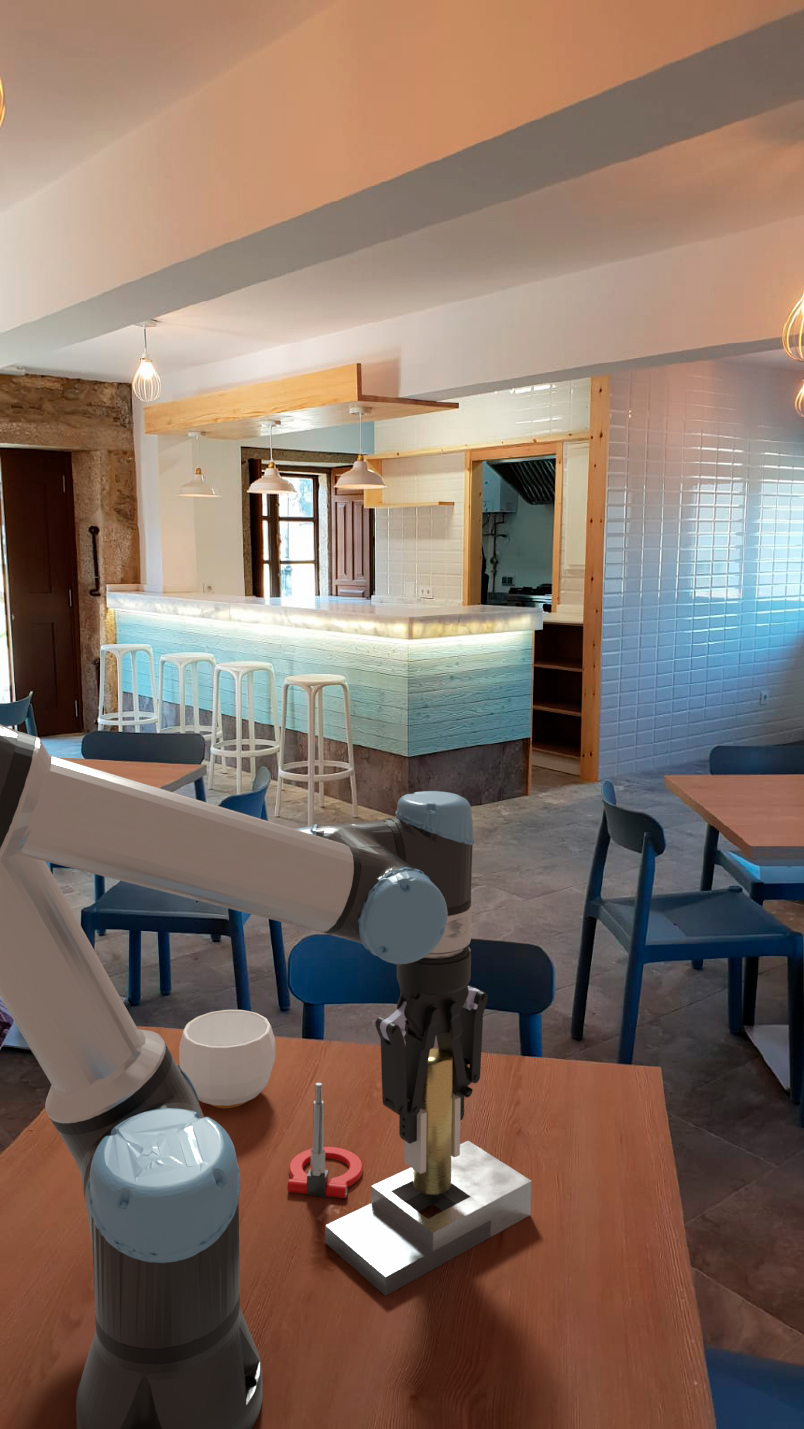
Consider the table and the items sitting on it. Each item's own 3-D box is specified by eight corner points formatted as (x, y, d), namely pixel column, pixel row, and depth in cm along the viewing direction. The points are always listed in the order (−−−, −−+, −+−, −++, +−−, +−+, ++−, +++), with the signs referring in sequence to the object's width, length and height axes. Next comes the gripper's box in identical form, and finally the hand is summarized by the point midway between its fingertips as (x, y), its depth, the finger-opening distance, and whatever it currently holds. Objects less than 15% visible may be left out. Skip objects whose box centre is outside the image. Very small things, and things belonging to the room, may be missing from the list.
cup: (160, 1103, 135) (158, 1032, 134) (227, 1065, 145) (226, 999, 144) (229, 1133, 128) (228, 1059, 127) (295, 1092, 138) (294, 1023, 137)
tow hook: (299, 1152, 125) (278, 1195, 116) (300, 1049, 124) (279, 1083, 115) (368, 1159, 124) (353, 1203, 115) (370, 1055, 123) (354, 1090, 113)
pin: (430, 1199, 107) (431, 1071, 105) (405, 1181, 110) (405, 1056, 108) (459, 1184, 109) (460, 1059, 107) (434, 1167, 112) (435, 1045, 110)
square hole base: (385, 1296, 100) (385, 1258, 100) (325, 1243, 108) (325, 1207, 107) (530, 1215, 113) (531, 1180, 112) (467, 1172, 120) (468, 1140, 120)
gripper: (391, 977, 97) (390, 1207, 101) (519, 936, 108) (515, 1145, 112) (343, 953, 103) (344, 1172, 107) (470, 917, 114) (467, 1116, 117)
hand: (431, 1158), depth 109 cm, fingers closed on pin, 4 cm apart
